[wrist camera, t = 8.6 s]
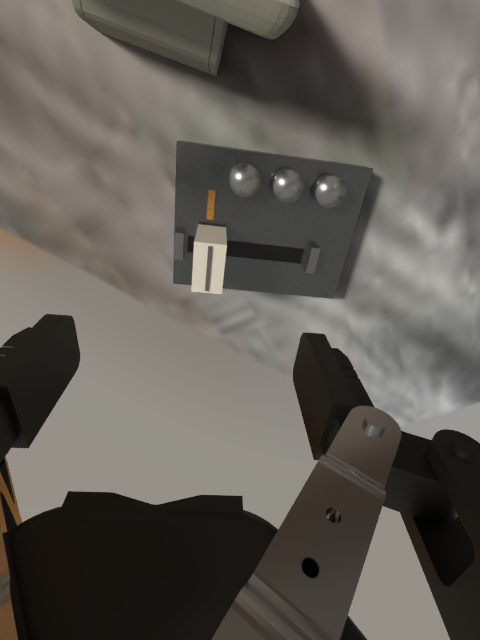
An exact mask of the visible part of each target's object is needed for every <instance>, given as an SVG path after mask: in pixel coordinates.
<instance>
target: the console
mask: <svg viewBox="0 0 480 640" xmlns="http://www.w3.org/2000/svg"><path fill="white" fill-rule="evenodd" d="M372 171H373V169H372V168H368V167H364V166H358V165H351V164H343V163H336V162H329V161H322V160H315V159H308V158H300V157H293V156H286V155H279V154H272V153H265V152H257V151H250V150H243V149H236V148H229V147H222V146H215V145H207V144H200V143H193V142H186V141H177V149H176V191H175V232H174V275H173V283H174V284H185V285H192V270H193V252H194V240H195V236H196V232H197V228H198V224H201V225H210V226H219V227H226V235H227V250H226V259H225V268H224V278H223V287H222V288H228V289H238V290H249V291H260V292H270V293H281V294H292V295H302V296H313V297H324V298H334V296H335V293H336V290H337V286H338V283H339V280H340V276H341V273H342V270H343V266H344V263H345V260H346V257H347V253H348V250H349V247H350V243H351V240H352V237H353V233H354V230H355V227H356V224H357V220H358V217H359V214H360V210H361V207H362V204H363V200H364V197H365V194H366V190H367V187H368V184H369V181H370V177H371V174H372Z"/></svg>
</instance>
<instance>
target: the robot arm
mask: <svg viewBox="0 0 480 640" xmlns="http://www.w3.org/2000/svg"><path fill="white" fill-rule="evenodd" d="M79 362H80V350H79V345H78V340H77V334H76V328H75V323H74V319H73V317H72V316H67V315H53V314H46V315H45V316H43V317H42V318H41V319H40V320H39V321H38V322H37V323H36V324H35V325H34V327H33V328H30V327H28V328H26V329H24V330H22V331H21V332H19V333H17V334H15V335H13V336H12V337H11V338H10V339H9V340H8V341H7V342H6V343H5V344H4V345H3V346H2V348H0V640H367V639H366V638H365V636H364V635H363V634H362V632H361V631H360V630H359V629H358V627H357V626H356V625H355V624H354V622H353V621H352V620H351V619H350V617H349V616H348V613H349V609H350V606H351V603H352V600H353V597H354V594H355V591H356V588H357V584H358V581H359V578H360V575H361V572H362V569H363V565H364V562H365V559H366V556H367V553H368V550H369V547H370V544H371V540H372V537H373V534H374V531H375V528H376V525H377V522H378V518H379V515H380V512H381V509H382V506H385V507H388V508H390V509H393V510H396V511H399V512H400V513H401V516H402V519H403V521H404V523H405V526H406V529H407V531H408V533H409V536H410V539H411V541H412V544H413V546H414V549H415V551H416V554H417V556H418V559H419V561H420V564H421V567H422V569H423V572H424V574H425V576H426V579H427V582H428V584H429V587H430V589H431V592H432V594H433V597H434V599H435V602H436V604H437V607H438V609H439V612H440V615H441V617H442V619H443V622H444V625H445V627H446V630H447V632H448V635H449V637H450V640H480V444H479V443H478V442H477V441H475V440H474V439H473V438H471V437H469V436H467V435H465V434H463V433H460V432H457V431H454V430H440V431H438V432H437V433H436V434H435V435H434V437H433V439H432V440H429V439H425V438H422V437H419V436H415V435H412V434H409V433H406V432H403V431H401V429H400V427H399V425H398V424H397V422H396V421H395V420H394V419H393V418H392V417H391V416H390V415H388V414H387V413H385V412H384V411H382V410H380V409H377V408H375V407H374V406H373V404H372V402H371V400H370V398H369V396H368V394H367V392H366V391H365V389H364V387H363V385H362V383H361V381H360V379H359V378H358V375H357V374H356V372H355V370H353V366H352V364H351V362H350V360H349V359H348V357H347V356H346V355H344V354H343V353H342V352H341V351H340V350H339V349H337V348H331V346H330V344H329V342H328V340H327V338H326V336H325V335H324V334H317V333H303V334H302V335H301V338H300V343H299V347H298V351H297V355H296V359H295V364H294V369H293V382H294V386H295V390H296V394H297V398H298V401H299V405H300V409H301V412H302V416H303V420H304V424H305V428H306V432H307V435H308V439H309V443H310V446H311V450H312V454H313V458H314V460H319V461H318V462H317V464H316V466H315V468H314V469H313V471H312V473H311V474H310V476H309V478H308V480H307V481H306V483H305V485H304V486H303V488H302V490H301V492H300V493H299V495H298V497H297V498H296V500H295V502H294V504H293V505H292V507H291V509H290V511H289V512H288V514H287V516H286V517H285V519H284V521H283V523H282V524H281V526H280V528H279V529H277V528H276V527H274V526H273V525H272V524H270V523H269V522H268V521H266V520H264V519H263V518H261V517H259V516H257V515H255V514H253V513H250V512H248V511H245V510H243V504H242V503H243V502H242V496H219V495H199V496H194V497H190V498H185V499H181V500H177V501H172V502H168V503H164V504H159V505H152V504H149V503H145V502H142V501H138V500H135V499H132V498H129V497H125V496H122V495H119V494H116V493H108V492H71V491H69V492H68V494H67V496H66V498H65V501H64V503H63V505H62V507H58V508H55V509H51V510H48V511H45V512H43V513H41V514H38V515H36V516H34V517H32V518H30V519H28V520H26V521H24V522H22V519H21V516H20V513H19V509H18V504H17V500H16V496H15V492H14V488H13V483H12V479H11V475H10V471H9V467H8V463H7V460H6V457H5V456H6V454H7V453H8V451H9V450H10V448H12V447H13V448H29V446H30V445H31V443H32V442H33V440H34V438H35V437H36V435H37V434H38V432H39V430H40V428H41V427H42V426H43V424H44V422H45V421H46V419H47V417H48V416H49V414H50V412H51V411H52V409H53V408H54V406H55V405H56V403H57V401H58V399H59V398H60V397H61V395H62V393H63V392H64V390H65V388H66V387H67V385H68V384H69V382H70V381H71V379H72V377H73V376H74V374H75V372H76V371H77V369H78V366H79ZM462 523H463V524H462ZM468 534H469V535H468Z"/></svg>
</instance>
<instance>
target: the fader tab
mask: <svg viewBox="0 0 480 640" xmlns="http://www.w3.org/2000/svg"><path fill="white" fill-rule="evenodd" d="M226 250H227V235H226V227H219V226H210V225H201V224H198V228H197V232H196V236H195V240H194V252H193V270H192V288H191V291H193V292H204V293H214V294H222V287H223V278H224V268H225V259H226Z"/></svg>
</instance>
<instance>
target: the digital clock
mask: <svg viewBox="0 0 480 640" xmlns="http://www.w3.org/2000/svg"><path fill="white" fill-rule="evenodd" d="M72 1H73V7H74V9H75V12H76V13H77V14H78V16H79V17H80V18H82V19H83V20H84V21H85V22H87V23H88V24H89V25H90V26H92V27H93V28H94V29H95V30H97V31H98V32H101V33H103V34H106V35H108V36H111V37H114V38H116V39H119V40H122V41H124V42H127V43H129V44H132V45H135V46H137V47H140V48H143V49H145V50H148V51H150V52H153V53H156V54H158V55H161V56H164V57H166V58H169V59H171V60H174V61H177V62H179V63H182V64H185V65H187V66H190V67H192V68H195V69H198V70H200V71H203V72H206V73H208V74H211V75H213V76H217V73H218V68H219V64H220V59H221V55H222V50H223V45H224V41H225V36H226V31H227V27H228V23H230V24H232V25H235V26H237V27H240V28H242V29H245V30H247V31H249V32H252V33H254V34H257V35H259V36H262V37H264V38H267V39H276V38H278V37H279V36H280V35H282V34H283V33H284V32H285V31H286V30H287V29H288V28H289V27H290V26H291V24H292V23H293V21H294V20H295V18H296V15H297V13H298V9H299V7H300V3H299V0H72Z"/></svg>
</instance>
